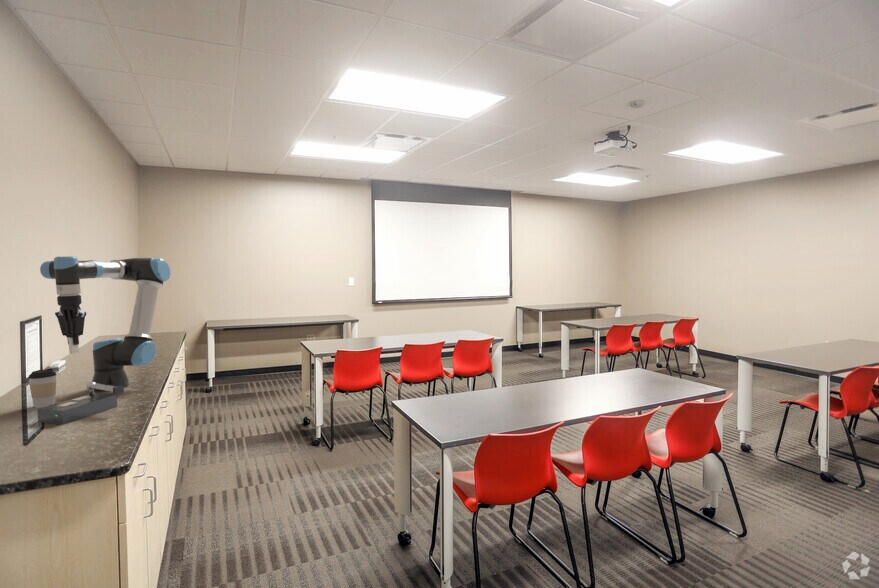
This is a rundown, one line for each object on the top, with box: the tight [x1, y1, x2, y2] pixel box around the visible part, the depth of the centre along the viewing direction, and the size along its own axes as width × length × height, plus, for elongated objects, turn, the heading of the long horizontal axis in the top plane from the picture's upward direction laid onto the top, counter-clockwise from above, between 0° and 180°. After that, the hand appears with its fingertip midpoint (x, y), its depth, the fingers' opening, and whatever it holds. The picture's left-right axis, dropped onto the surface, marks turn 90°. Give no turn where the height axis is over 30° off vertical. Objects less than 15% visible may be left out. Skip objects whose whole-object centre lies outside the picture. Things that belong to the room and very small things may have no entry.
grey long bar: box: [86, 381, 125, 395], centre depth 187 cm, size 21×3×2 cm, turn 65°
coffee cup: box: [27, 368, 57, 409], centre depth 193 cm, size 9×9×15 cm
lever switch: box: [36, 388, 118, 425], centre depth 181 cm, size 22×12×8 cm, turn 167°
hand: (74, 352), depth 187 cm, fingers closed
